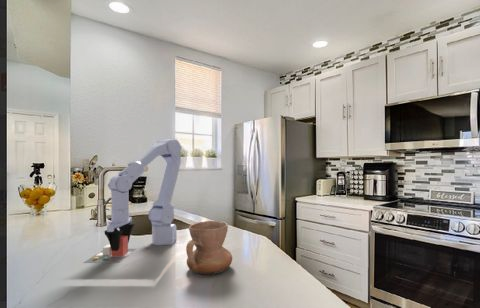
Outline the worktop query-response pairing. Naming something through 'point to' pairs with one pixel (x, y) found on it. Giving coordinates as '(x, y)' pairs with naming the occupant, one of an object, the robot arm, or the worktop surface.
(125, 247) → the block
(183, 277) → the worktop surface
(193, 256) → the ceramic jug
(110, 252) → the block
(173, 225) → the robot arm
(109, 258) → the breaker panel
